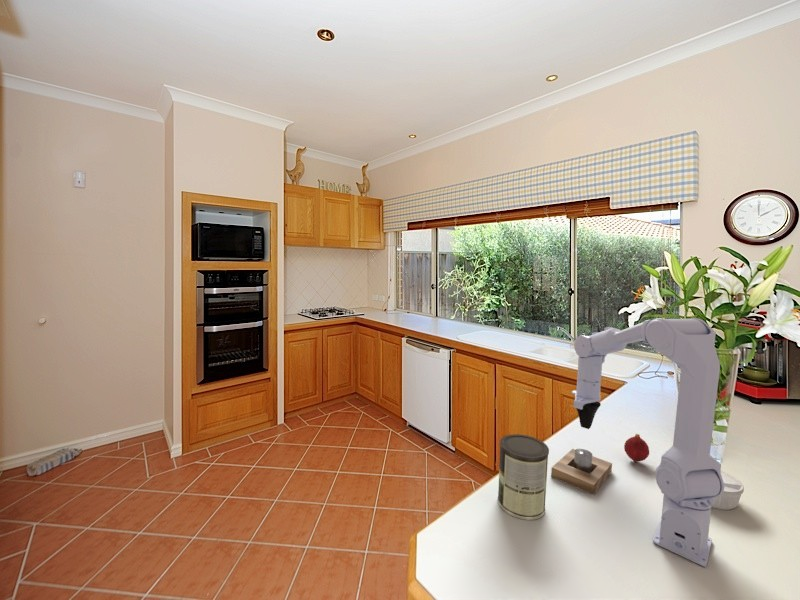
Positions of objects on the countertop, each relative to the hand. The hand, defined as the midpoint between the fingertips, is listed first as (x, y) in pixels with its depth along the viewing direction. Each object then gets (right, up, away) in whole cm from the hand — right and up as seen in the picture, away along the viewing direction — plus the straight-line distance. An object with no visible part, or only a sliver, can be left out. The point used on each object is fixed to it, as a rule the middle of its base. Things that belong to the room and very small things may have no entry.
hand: (585, 427), depth 97 cm
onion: (+15, -10, +1) cm, 18 cm away
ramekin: (+22, -12, -14) cm, 29 cm away
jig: (-4, -10, -5) cm, 12 cm away
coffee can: (-24, -11, -18) cm, 32 cm away
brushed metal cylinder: (-4, -10, -5) cm, 12 cm away
